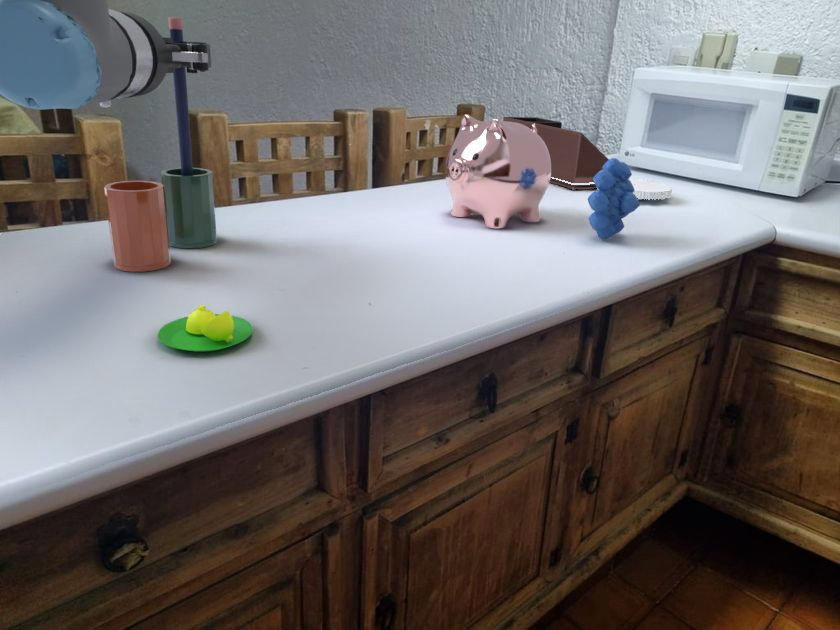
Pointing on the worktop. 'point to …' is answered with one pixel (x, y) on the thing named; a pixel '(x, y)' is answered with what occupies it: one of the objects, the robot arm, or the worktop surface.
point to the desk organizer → (567, 152)
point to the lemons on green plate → (205, 331)
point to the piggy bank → (497, 171)
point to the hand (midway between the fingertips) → (192, 53)
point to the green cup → (190, 208)
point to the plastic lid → (650, 189)
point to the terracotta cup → (138, 225)
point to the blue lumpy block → (611, 198)
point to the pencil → (181, 104)
